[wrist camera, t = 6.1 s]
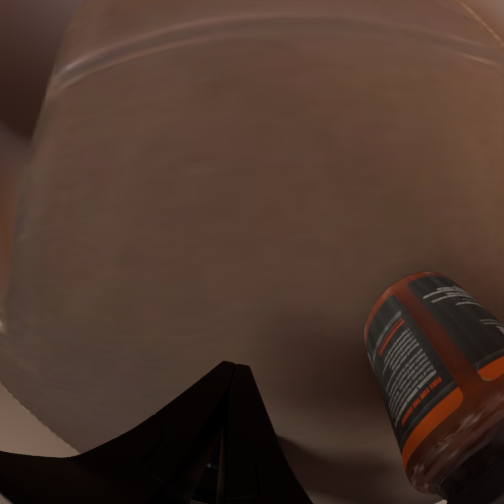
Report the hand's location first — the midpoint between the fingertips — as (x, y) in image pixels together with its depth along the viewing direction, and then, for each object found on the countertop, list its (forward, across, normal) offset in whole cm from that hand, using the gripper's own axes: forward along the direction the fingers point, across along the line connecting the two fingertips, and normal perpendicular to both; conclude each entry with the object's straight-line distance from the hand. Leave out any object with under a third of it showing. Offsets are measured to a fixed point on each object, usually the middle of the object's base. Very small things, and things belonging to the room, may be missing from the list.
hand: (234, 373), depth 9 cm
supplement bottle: (+6, -8, 0) cm, 10 cm away
